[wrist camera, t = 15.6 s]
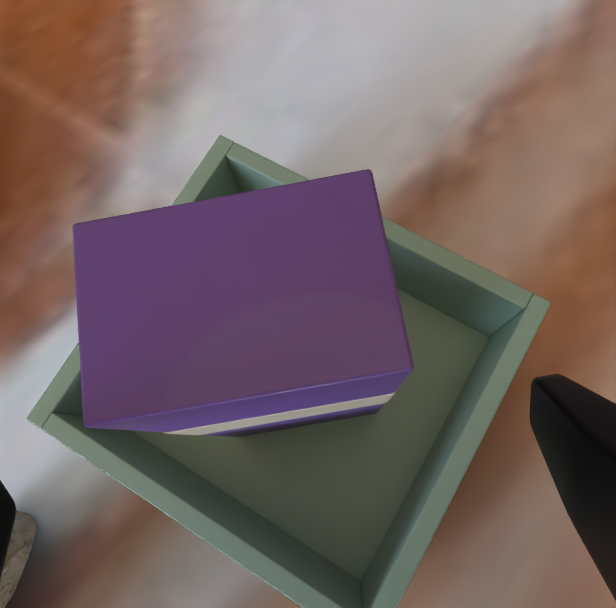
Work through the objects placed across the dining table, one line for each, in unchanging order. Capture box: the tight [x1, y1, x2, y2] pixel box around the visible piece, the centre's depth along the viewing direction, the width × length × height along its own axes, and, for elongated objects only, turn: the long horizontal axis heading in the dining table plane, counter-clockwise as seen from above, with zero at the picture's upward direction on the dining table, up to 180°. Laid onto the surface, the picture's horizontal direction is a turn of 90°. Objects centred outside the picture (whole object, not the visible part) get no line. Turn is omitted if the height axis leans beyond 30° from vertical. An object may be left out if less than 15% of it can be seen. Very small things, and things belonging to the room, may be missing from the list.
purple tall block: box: [73, 169, 414, 437], centre depth 15 cm, size 4×5×12 cm, turn 99°
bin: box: [27, 135, 551, 608], centre depth 19 cm, size 12×11×5 cm
